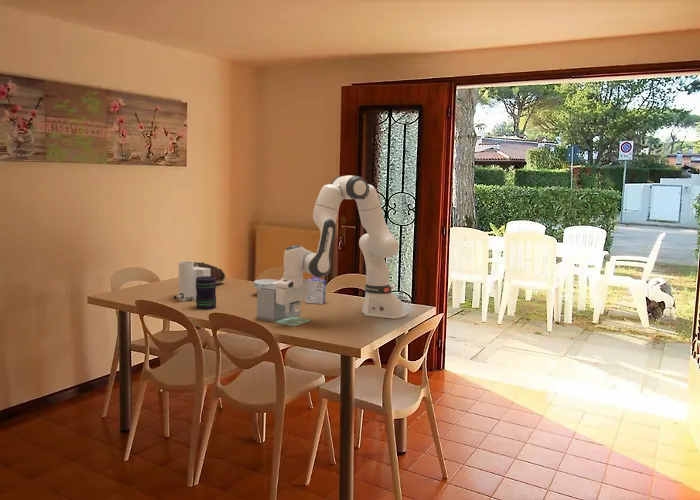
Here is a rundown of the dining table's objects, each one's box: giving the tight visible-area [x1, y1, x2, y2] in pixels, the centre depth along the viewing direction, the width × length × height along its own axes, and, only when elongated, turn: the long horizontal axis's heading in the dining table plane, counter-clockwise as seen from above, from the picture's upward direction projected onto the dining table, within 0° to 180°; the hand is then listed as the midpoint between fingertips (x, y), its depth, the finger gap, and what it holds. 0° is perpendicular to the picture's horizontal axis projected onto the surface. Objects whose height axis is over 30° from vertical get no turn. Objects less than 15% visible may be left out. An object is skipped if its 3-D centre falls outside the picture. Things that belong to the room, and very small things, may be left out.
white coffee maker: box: [173, 260, 211, 302], centre depth 313 cm, size 16×19×20 cm
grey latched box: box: [255, 285, 288, 323], centre depth 278 cm, size 11×13×15 cm
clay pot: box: [193, 261, 226, 285], centre depth 353 cm, size 15×15×25 cm
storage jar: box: [195, 276, 217, 311], centre depth 296 cm, size 10×10×15 cm
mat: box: [274, 317, 311, 327], centre depth 272 cm, size 11×12×1 cm
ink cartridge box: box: [304, 275, 327, 305], centre depth 313 cm, size 10×6×14 cm, turn 78°
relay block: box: [285, 302, 302, 318], centre depth 271 cm, size 5×5×6 cm
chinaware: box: [253, 278, 280, 291], centre depth 330 cm, size 15×15×8 cm
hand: (292, 311), depth 272 cm, fingers closed on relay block, 5 cm apart
